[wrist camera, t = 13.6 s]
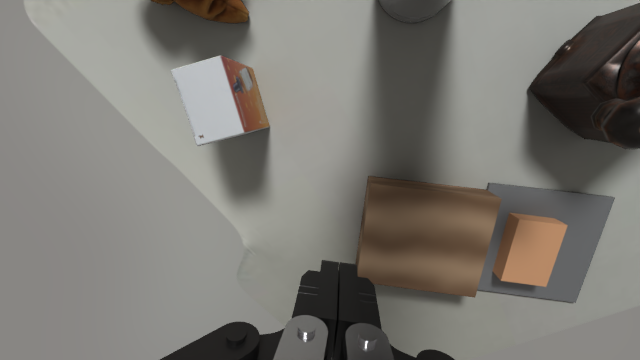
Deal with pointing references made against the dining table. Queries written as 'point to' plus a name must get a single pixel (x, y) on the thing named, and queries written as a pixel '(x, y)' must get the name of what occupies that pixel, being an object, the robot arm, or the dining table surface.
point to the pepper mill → (597, 80)
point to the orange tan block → (529, 249)
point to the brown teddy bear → (214, 9)
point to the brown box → (425, 235)
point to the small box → (220, 99)
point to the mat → (576, 247)
